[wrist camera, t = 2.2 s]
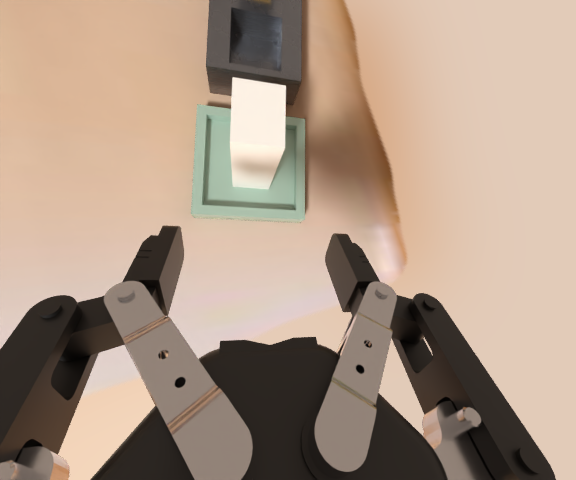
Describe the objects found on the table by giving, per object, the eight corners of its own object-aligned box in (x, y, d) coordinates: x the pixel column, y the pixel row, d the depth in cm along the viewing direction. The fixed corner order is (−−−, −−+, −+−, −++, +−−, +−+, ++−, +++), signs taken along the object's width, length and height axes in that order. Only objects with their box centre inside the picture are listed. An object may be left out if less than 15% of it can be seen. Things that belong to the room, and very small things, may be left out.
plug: (232, 186, 27) (229, 141, 17) (234, 143, 28) (232, 77, 18) (268, 189, 28) (285, 147, 18) (269, 147, 29) (285, 85, 19)
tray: (194, 217, 27) (191, 213, 25) (200, 115, 28) (197, 104, 26) (300, 222, 29) (304, 219, 27) (300, 128, 31) (305, 118, 29)
